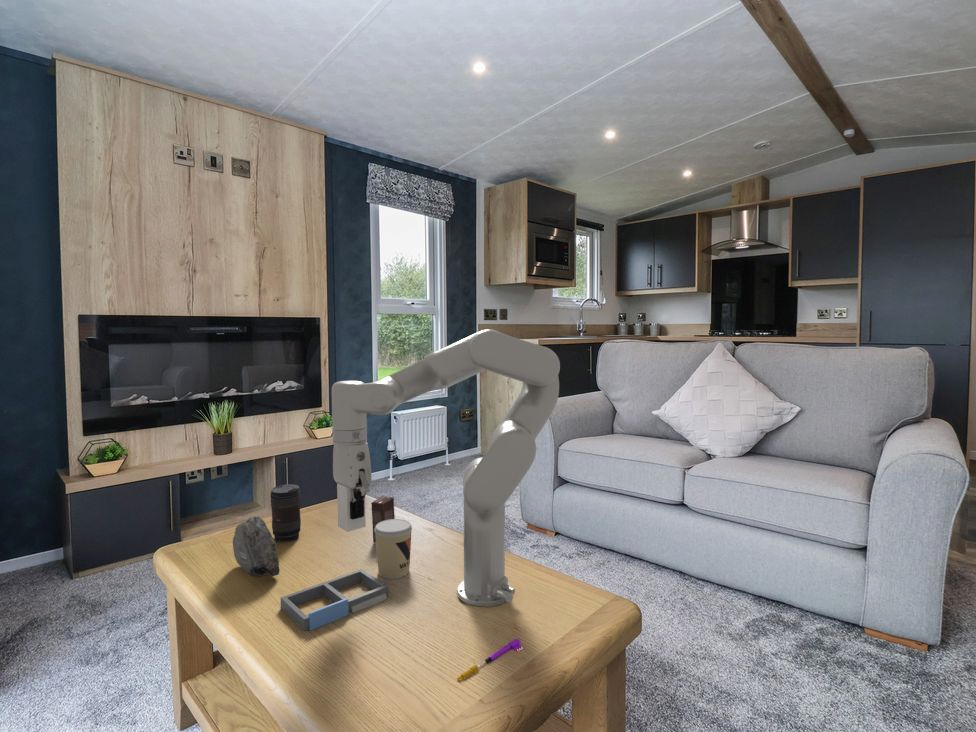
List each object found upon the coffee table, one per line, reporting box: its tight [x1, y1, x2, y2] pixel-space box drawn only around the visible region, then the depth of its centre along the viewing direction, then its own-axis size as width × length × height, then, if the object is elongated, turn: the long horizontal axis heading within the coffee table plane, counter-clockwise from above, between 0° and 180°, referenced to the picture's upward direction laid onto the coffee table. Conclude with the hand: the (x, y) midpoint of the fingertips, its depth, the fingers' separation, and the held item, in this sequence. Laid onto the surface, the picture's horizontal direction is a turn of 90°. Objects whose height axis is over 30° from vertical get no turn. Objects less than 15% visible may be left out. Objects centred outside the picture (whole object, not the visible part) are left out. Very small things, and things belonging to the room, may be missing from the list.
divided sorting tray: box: [280, 568, 390, 632], centre depth 117 cm, size 13×20×4 cm, turn 133°
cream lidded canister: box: [374, 518, 413, 579], centre depth 132 cm, size 9×9×12 cm
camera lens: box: [270, 483, 302, 543], centre depth 154 cm, size 8×8×15 cm
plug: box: [336, 483, 367, 533], centre depth 119 cm, size 4×4×11 cm
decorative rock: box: [232, 515, 280, 577], centre depth 131 cm, size 16×7×15 cm, turn 44°
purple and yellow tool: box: [456, 638, 523, 682], centre depth 96 cm, size 3×1×16 cm
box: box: [370, 495, 396, 544], centre depth 152 cm, size 6×4×12 cm
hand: (351, 514), depth 119 cm, fingers closed on plug, 4 cm apart
